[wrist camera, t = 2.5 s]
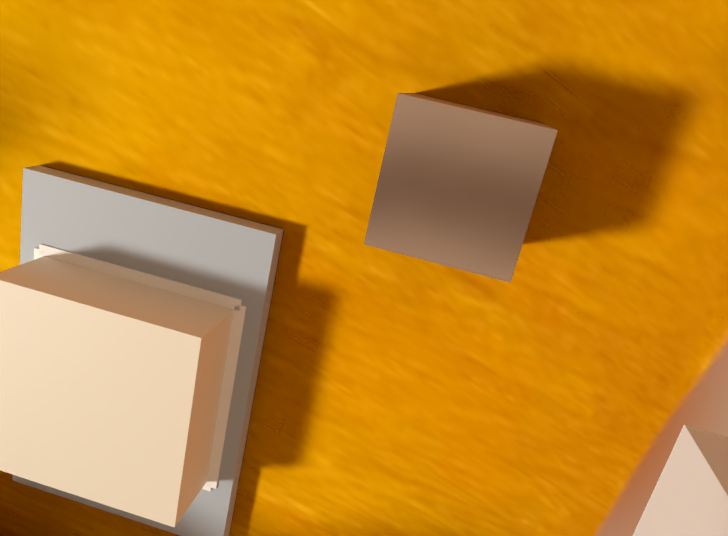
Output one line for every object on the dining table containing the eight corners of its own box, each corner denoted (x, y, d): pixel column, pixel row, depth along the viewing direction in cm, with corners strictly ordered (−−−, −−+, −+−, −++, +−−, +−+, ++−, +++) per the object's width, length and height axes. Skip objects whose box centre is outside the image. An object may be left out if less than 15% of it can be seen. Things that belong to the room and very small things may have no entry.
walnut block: (414, 93, 28) (398, 93, 23) (542, 122, 28) (558, 130, 22) (386, 215, 30) (363, 243, 24) (504, 246, 29) (510, 282, 24)
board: (39, 165, 33) (-39, 178, 28) (283, 229, 31) (246, 255, 26) (26, 469, 39) (-40, 523, 34) (229, 535, 37) (190, 602, 32)
